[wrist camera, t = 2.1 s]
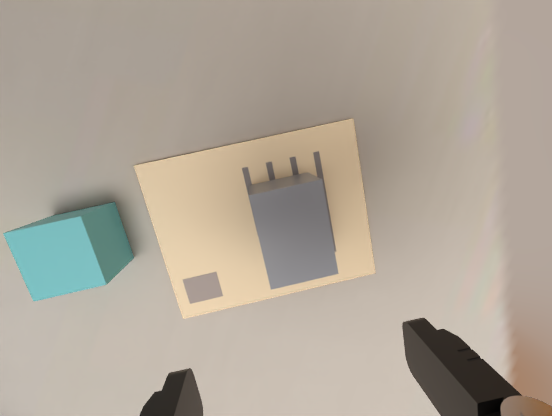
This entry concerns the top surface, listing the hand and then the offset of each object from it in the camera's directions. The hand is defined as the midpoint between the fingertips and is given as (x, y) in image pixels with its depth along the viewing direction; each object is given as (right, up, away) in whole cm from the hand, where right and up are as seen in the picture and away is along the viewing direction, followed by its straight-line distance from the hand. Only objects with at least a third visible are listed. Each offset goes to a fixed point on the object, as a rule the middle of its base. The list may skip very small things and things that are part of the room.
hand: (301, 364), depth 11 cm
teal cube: (-16, +3, +14) cm, 21 cm away
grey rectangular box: (0, +5, +14) cm, 15 cm away
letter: (-2, +5, +14) cm, 15 cm away
